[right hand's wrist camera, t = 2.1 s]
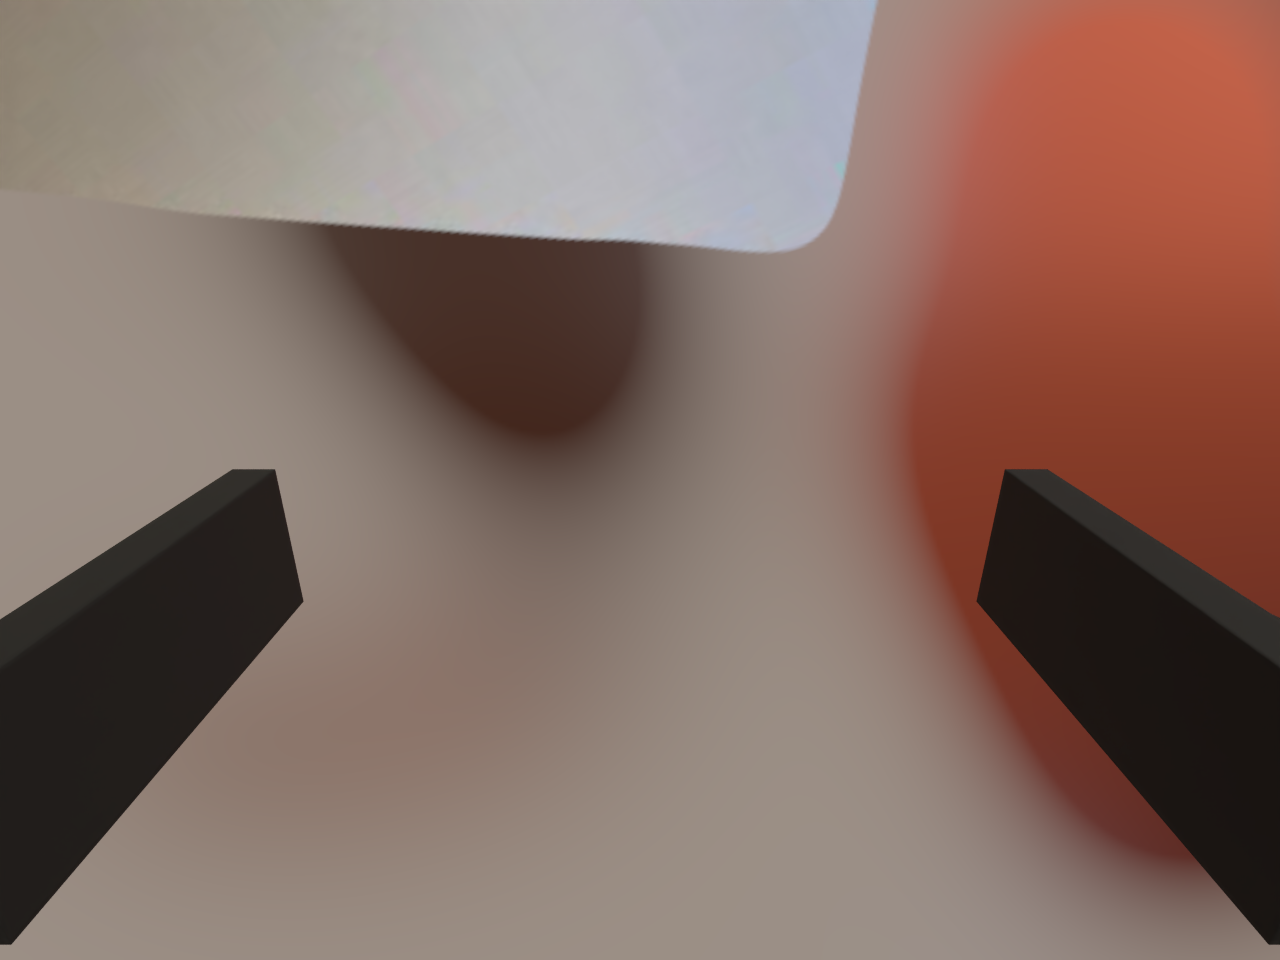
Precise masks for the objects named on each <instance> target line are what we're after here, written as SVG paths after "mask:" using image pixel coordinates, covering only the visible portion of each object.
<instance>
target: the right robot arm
mask: <svg viewBox="0 0 1280 960" xmlns="http://www.w3.org/2000/svg"><path fill="white" fill-rule="evenodd" d="M977 602H978V604H979V605H980V606H981V607H982V608H983V610H984V611H985V612H986V613H987V614H988V615H989V617H990V618H991V619H992V620H993V621H994V622H995V624H996V625H997V626H998V627H999V628H1000V630H1001V631H1002V632H1003V633H1004V634H1005V635H1006V637H1007V638H1008V639H1009V640H1010V641H1011V642H1012V644H1013V645H1014V646H1015V647H1016V648H1017V649H1018V651H1019V652H1020V653H1021V654H1022V655H1023V656H1024V658H1025V659H1026V660H1027V661H1028V662H1029V663H1030V665H1031V666H1032V667H1033V668H1034V669H1035V671H1036V672H1037V673H1038V674H1039V675H1040V676H1041V678H1042V679H1043V680H1044V681H1045V682H1046V684H1047V685H1048V686H1049V687H1050V688H1051V689H1052V691H1053V692H1054V693H1055V694H1056V695H1057V696H1058V698H1059V699H1060V700H1061V701H1062V702H1063V704H1064V705H1065V706H1066V707H1067V708H1068V709H1069V711H1070V712H1071V713H1072V714H1073V715H1074V716H1075V718H1076V719H1077V720H1078V721H1079V722H1080V723H1081V725H1082V726H1083V727H1084V728H1085V729H1086V731H1087V732H1088V733H1089V734H1090V735H1091V736H1092V738H1093V739H1094V740H1095V741H1096V742H1097V743H1098V745H1099V746H1100V747H1101V748H1102V749H1103V751H1104V752H1105V753H1106V754H1107V755H1108V756H1109V758H1110V759H1111V760H1112V761H1113V762H1114V763H1115V765H1116V766H1117V767H1118V768H1119V769H1120V770H1121V772H1122V773H1123V774H1124V775H1125V776H1126V777H1127V779H1128V780H1129V781H1130V782H1131V783H1132V785H1133V786H1134V787H1135V788H1136V789H1137V790H1138V792H1139V793H1140V794H1141V795H1142V796H1143V797H1144V799H1145V800H1146V801H1147V802H1148V803H1149V805H1150V806H1151V807H1152V808H1153V809H1154V810H1155V812H1156V813H1157V814H1158V815H1159V816H1160V817H1161V819H1162V820H1163V821H1164V822H1165V823H1166V824H1167V826H1168V827H1169V828H1170V829H1171V830H1172V832H1173V833H1174V834H1175V835H1176V836H1177V837H1178V839H1179V840H1180V841H1181V842H1182V843H1183V844H1184V846H1185V847H1186V848H1187V849H1188V850H1189V851H1190V853H1191V854H1192V855H1193V856H1194V857H1195V859H1196V860H1197V861H1198V862H1199V863H1200V864H1201V866H1202V867H1203V868H1204V869H1205V870H1206V871H1207V873H1208V874H1209V875H1210V876H1211V877H1212V879H1213V880H1214V881H1215V882H1216V883H1217V884H1218V886H1219V887H1220V888H1221V889H1222V890H1223V891H1224V893H1225V894H1226V895H1227V896H1228V897H1229V898H1230V900H1231V901H1232V902H1233V903H1234V904H1235V906H1236V907H1237V908H1238V909H1239V910H1240V911H1241V913H1242V914H1243V915H1244V916H1245V917H1246V918H1247V920H1248V921H1249V922H1250V923H1251V924H1252V925H1253V927H1254V928H1255V929H1256V930H1257V931H1258V933H1259V934H1260V935H1261V936H1262V937H1263V938H1264V940H1265V941H1266V942H1267V943H1268V944H1269V945H1280V618H1279V617H1277V616H1275V615H1272V614H1270V613H1269V612H1267V611H1266V610H1264V609H1263V608H1261V607H1260V606H1258V605H1257V604H1255V603H1253V602H1252V601H1250V600H1249V599H1247V598H1246V597H1244V596H1243V595H1241V594H1240V593H1238V592H1236V591H1235V590H1233V589H1232V588H1230V587H1229V586H1227V585H1226V584H1224V583H1222V582H1221V581H1219V580H1218V579H1216V578H1215V577H1213V576H1212V575H1210V574H1209V573H1207V572H1205V571H1204V570H1202V569H1201V568H1199V567H1198V566H1196V565H1195V564H1193V563H1192V562H1190V561H1188V560H1187V559H1185V558H1184V557H1182V556H1181V555H1179V554H1178V553H1176V552H1174V551H1173V550H1171V549H1170V548H1168V547H1167V546H1165V545H1164V544H1162V543H1161V542H1159V541H1157V540H1156V539H1154V538H1153V537H1151V536H1150V535H1148V534H1147V533H1145V532H1143V531H1142V530H1140V529H1139V528H1137V527H1136V526H1134V525H1133V524H1131V523H1130V522H1128V521H1127V520H1125V519H1123V518H1122V517H1120V516H1119V515H1117V514H1116V513H1114V512H1113V511H1111V510H1109V509H1108V508H1106V507H1105V506H1103V505H1102V504H1100V503H1099V502H1097V501H1096V500H1094V499H1092V498H1091V497H1089V496H1088V495H1086V494H1085V493H1083V492H1082V491H1080V490H1078V489H1077V488H1075V487H1074V486H1072V485H1071V484H1069V483H1068V482H1066V481H1065V480H1063V479H1062V478H1060V477H1058V476H1057V475H1055V474H1054V473H1052V472H1051V471H1049V470H1047V469H1027V470H1026V469H1006V470H1005V472H1004V476H1003V481H1002V486H1001V490H1000V495H999V499H998V504H997V509H996V513H995V518H994V523H993V528H992V532H991V537H990V541H989V546H988V551H987V555H986V560H985V565H984V569H983V574H982V578H981V583H980V588H979V592H978V597H977ZM302 603H303V597H302V592H301V588H300V583H299V578H298V574H297V569H296V564H295V560H294V555H293V551H292V546H291V541H290V537H289V532H288V527H287V523H286V518H285V513H284V509H283V504H282V499H281V495H280V490H279V485H278V481H277V476H276V472H275V470H274V469H270V470H269V469H260V470H259V469H239V470H238V469H233V470H231V471H229V472H228V473H226V474H225V475H223V476H222V477H220V478H219V479H217V480H215V481H214V482H212V483H211V484H209V485H208V486H206V487H205V488H203V489H201V490H200V491H198V492H197V493H195V494H194V495H192V496H191V497H189V498H188V499H186V500H185V501H183V502H181V503H180V504H178V505H177V506H175V507H174V508H172V509H170V510H169V511H167V512H166V513H164V514H163V515H161V516H160V517H158V518H157V519H155V520H153V521H152V522H150V523H149V524H147V525H146V526H144V527H143V528H141V529H140V530H138V531H136V532H135V533H133V534H132V535H130V536H129V537H127V538H126V539H124V540H123V541H121V542H119V543H118V544H116V545H115V546H113V547H112V548H110V549H109V550H107V551H105V552H104V553H102V554H101V555H99V556H98V557H96V558H95V559H93V560H92V561H90V562H88V563H87V564H85V565H84V566H82V567H81V568H79V569H78V570H76V571H75V572H73V573H71V574H70V575H68V576H67V577H65V578H64V579H62V580H61V581H59V582H58V583H56V584H54V585H53V586H51V587H50V588H48V589H47V590H45V591H44V592H42V593H41V594H39V595H37V596H36V597H34V598H33V599H31V600H30V601H28V602H27V603H25V604H23V605H22V606H20V607H19V608H17V609H16V610H14V611H13V612H11V613H10V614H8V615H6V616H5V617H3V618H2V619H0V945H11V944H12V943H13V942H14V941H15V939H16V938H17V937H18V936H19V935H20V934H21V932H22V931H23V930H24V929H25V928H26V927H27V925H28V924H29V923H30V922H31V921H32V920H33V918H34V917H35V916H36V915H37V914H38V913H39V911H40V910H41V909H42V908H43V907H44V905H45V904H46V903H47V902H48V901H49V900H50V898H51V897H52V896H53V895H54V894H55V893H56V891H57V890H58V889H59V888H60V887H61V885H62V884H63V883H64V882H65V881H66V880H67V879H68V877H69V876H70V875H71V874H72V873H73V871H74V870H75V869H76V868H77V867H78V866H79V864H80V863H81V862H82V861H83V860H84V859H85V857H86V856H87V855H88V854H89V853H90V851H91V850H92V849H93V848H94V847H95V846H96V844H97V843H98V842H99V841H100V840H101V839H102V837H103V836H104V835H105V834H106V833H107V832H108V830H109V829H110V828H111V827H112V826H113V824H114V823H115V822H116V821H117V820H118V819H119V817H120V816H121V815H122V814H123V813H124V812H125V810H126V809H127V808H128V807H129V806H130V805H131V803H132V802H133V801H134V800H135V799H136V797H137V796H138V795H139V794H140V793H141V792H142V790H143V789H144V788H145V787H146V786H147V785H148V783H149V782H150V781H151V780H152V779H153V778H154V776H155V775H156V774H157V773H158V772H159V770H160V769H161V768H162V767H163V766H164V765H165V763H166V762H167V761H168V760H169V759H170V758H171V756H172V755H173V754H174V753H175V752H176V751H177V749H178V748H179V747H180V746H181V745H182V743H183V742H184V741H185V740H186V739H187V738H188V736H189V735H190V734H191V733H192V732H193V731H194V729H195V728H196V727H197V726H198V725H199V723H200V722H201V721H202V720H203V719H204V718H205V716H206V715H207V714H208V713H209V712H210V711H211V709H212V708H213V707H214V706H215V705H216V704H217V702H218V701H219V700H220V699H221V698H222V696H223V695H224V694H225V693H226V692H227V691H228V689H229V688H230V687H231V686H232V685H233V684H234V682H235V681H236V680H237V679H238V678H239V676H240V675H241V674H242V673H243V672H244V671H245V669H246V668H247V667H248V666H249V665H250V664H251V662H252V661H253V660H254V659H255V658H256V656H257V655H258V654H259V653H260V652H261V651H262V650H263V648H264V647H265V646H266V645H267V644H268V642H269V641H270V640H271V639H272V638H273V637H274V635H275V634H276V633H277V632H278V631H279V630H280V628H281V627H282V626H283V625H284V624H285V623H286V621H287V620H288V619H289V618H290V617H291V615H292V614H293V613H294V612H295V611H296V610H297V608H298V607H299V606H300V605H301V604H302Z"/></svg>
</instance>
